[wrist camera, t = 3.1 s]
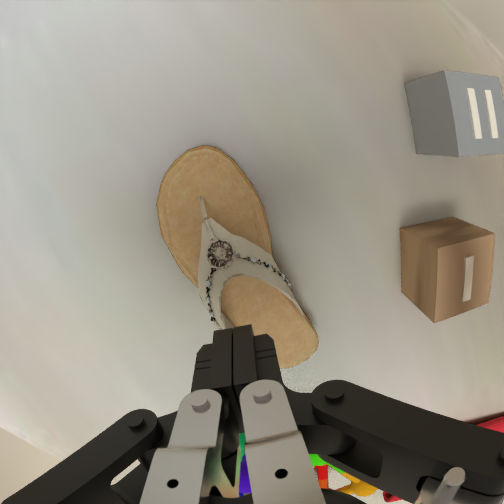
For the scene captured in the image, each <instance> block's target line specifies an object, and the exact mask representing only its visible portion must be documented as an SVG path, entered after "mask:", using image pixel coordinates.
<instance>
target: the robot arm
mask: <svg viewBox="0 0 504 504" xmlns="http://www.w3.org/2000/svg"><path fill="white" fill-rule="evenodd" d="M239 433H245V437H246V443H245V444H244V447H245V454H246V460H247V467H248V473H249V479H250V485H251V491H252V493H250V494H247V495H244V496H240V497H239V479H240V462H241V448H240V445H239V442H240V441H239ZM309 454H318V456H319V457H320V458H321V459H322V460H323V461H325V462H327V463H329V464H331V465H332V466H334V467H336V468H338V469H340V470H342V471H344V472H346V473H347V474H349V475H351V476H353V477H355V478H357V479H359V480H361V481H363V482H365V483H367V484H370V485H372V486H374V487H376V488H378V489H380V490H382V491H385V492H387V493H389V494H391V495H394V496H396V497H398V498H400V499H403V500H405V501H408V502H410V503H412V504H502V502H503V500H504V433H503V432H499V431H495V430H491V429H488V428H484V427H480V426H477V425H473V424H470V423H466V422H463V421H460V420H456V419H453V418H450V417H446V416H443V415H440V414H437V413H434V412H431V411H428V410H425V409H422V408H419V407H416V406H413V405H410V404H407V403H404V402H401V401H398V400H395V399H393V398H390V397H387V396H384V395H382V394H379V393H376V392H374V391H371V390H368V389H366V388H363V387H360V386H358V385H355V384H353V383H350V382H347V381H344V380H331V381H327V382H324V383H322V384H320V385H319V386H317V387H316V388H315V389H314V390H313V392H312V393H299V392H295V391H292V390H290V389H288V388H287V387H286V386H285V385H284V384H283V381H282V377H281V372H280V367H279V363H278V358H277V353H276V348H275V344H274V339H272V338H271V337H270V336H269V335H268V334H262V335H256V336H254V332H253V327H252V324H248V325H243V326H238V327H233V328H227V329H222V330H216V331H214V334H213V344H207V345H203V346H202V347H201V349H200V350H199V351H198V353H197V357H196V363H195V370H194V375H193V382H192V388H191V393H190V394H188V395H187V396H185V397H184V398H183V399H182V401H181V403H180V405H179V409H178V411H176V412H174V413H171V414H168V415H165V416H162V417H158V418H157V416H156V415H155V413H153V412H152V411H150V410H147V409H138V410H134V411H131V412H129V413H127V414H126V415H125V416H123V417H122V418H121V419H119V420H118V421H117V422H115V423H114V424H113V425H111V426H110V427H109V428H107V429H106V430H105V431H103V432H102V433H101V434H99V435H98V436H97V437H95V438H94V439H92V440H91V441H90V442H88V443H87V444H86V445H84V446H83V447H81V448H80V449H79V450H77V451H76V452H74V453H73V454H72V455H70V456H69V457H67V458H66V459H65V460H63V461H62V462H60V463H59V464H58V465H56V466H55V467H53V468H52V469H50V470H49V471H47V472H46V473H44V474H43V475H42V476H40V477H39V478H37V479H36V480H34V481H33V482H32V483H30V484H28V485H27V486H25V487H24V488H23V489H21V490H19V491H18V492H16V493H15V494H13V495H12V496H10V497H9V498H7V499H5V500H4V501H3V502H2V504H366V503H364V502H362V501H361V500H359V499H357V498H355V497H353V496H351V495H349V494H346V493H344V492H340V491H337V490H332V489H325V488H320V485H319V482H318V479H317V477H316V474H315V471H314V468H313V465H312V462H311V459H310V457H309ZM137 459H138V460H139V462H140V463H141V464H140V465H138V466H137V467H136V468H135V469H133V470H132V471H131V472H130V473H129V474H127V475H126V476H125V477H124V478H122V479H121V480H120V481H119V482H117V483H116V484H114V485H111V481H112V480H113V478H114V477H116V476H117V475H118V474H119V473H121V472H122V471H123V470H124V469H126V468H127V467H128V466H129V465H131V464H132V463H133V462H134V461H136V460H137Z"/></svg>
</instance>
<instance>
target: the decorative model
mask: <svg viewBox="0 0 504 504" xmlns="http://www.w3.org/2000/svg"><path fill="white" fill-rule="evenodd" d="M239 441H240V442H239V445H240V448H241V462H240V479H239V497H240V496H244V495H247V494H250V493H252V491H251V485H250V479H249V473H248V467H247V460H246V454H245V447H244V444H245V443H246V437H245V433H241V434H240V435H239ZM309 457H310V459H311V462H312V465H313V468H314V470H315V469H316V468H317V474H318V482H319V485H320V488H325V489H330V488H328V468H327V465H329V466H330V467H331V468H333V469H334V470H336V471H337V472H339V473H340V474H342V475H343V476H344V477H346V478H347V479H349V480H350V481H351V484H350V485H347V486H344V487H342V488H339V489H336V490H337V491H340V492H344V493H346V494H349V495H350V494H353V493H355V494H356V495H358V496H364V497H365V496H369V495H371V494H373V493H374V492H375V491H376V490H377V489H378V488H376V487H374V486H372V485H370V484H367V483H365V482H363V481H361V480H359V479H357V478H355V477H353V476H351V475H349V474H347V473H346V472H344V471H342V470H340V469H338V468H336V467H334V466H332V465H331V464H329V463H327V462H325V461H323V460H322V459H321V458H320V457H319V456H318V454H309Z"/></svg>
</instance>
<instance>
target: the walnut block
mask: <svg viewBox="0 0 504 504" xmlns="http://www.w3.org/2000/svg"><path fill="white" fill-rule="evenodd" d="M494 239H495V233H493V232H490V231H488V230H485V229H483V228H480V227H478V226H475V225H473V224H470V223H467V222H465V221H462V220H460V219H457V218H454V217H451V218H446V219H442V220H437V221H432V222H427V223H422V224H418V225H413V226H408V227H403V228H400V243H401V279H402V293H403V294H404V295H405V296H406V297H407V298H408V299H409V300H410V301H411V302H412V303H414V304H415V305H416V306H417V307H418V308H419V309H420V310H421V311H422V312H423V313H424V314H425V315H426V316H427V317H428V318H429V319H430V320H431V321H432V322H433V323H436V322H439V321H442V320H445V319H447V318H450V317H453V316H456V315H458V314H461V313H463V312H466V311H469V310H471V309H474V308H476V307H479V306H481V305H484V304H486V303H488V302H489V295H490V287H491V278H492V268H493V256H494Z"/></svg>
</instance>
